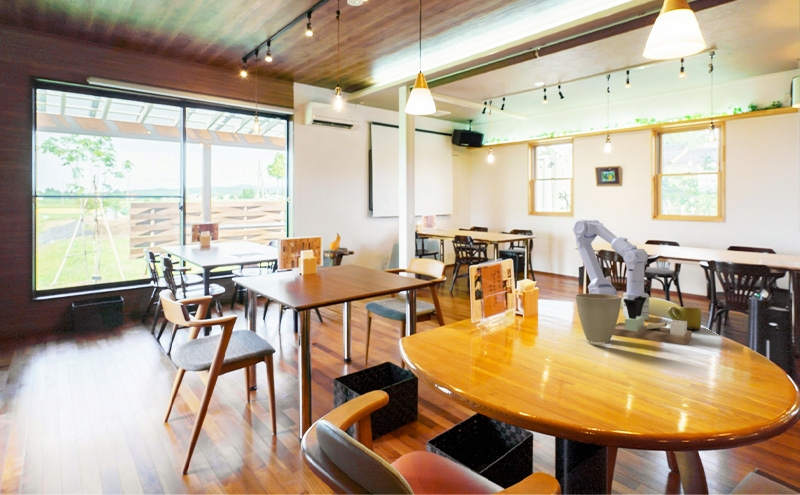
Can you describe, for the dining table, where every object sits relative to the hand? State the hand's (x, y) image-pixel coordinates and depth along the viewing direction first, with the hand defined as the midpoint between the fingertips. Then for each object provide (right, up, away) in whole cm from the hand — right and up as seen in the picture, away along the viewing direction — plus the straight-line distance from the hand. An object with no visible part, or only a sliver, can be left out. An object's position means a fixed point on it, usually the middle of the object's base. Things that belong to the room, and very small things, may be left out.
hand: (634, 317), depth 162 cm
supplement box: (+13, -6, +23) cm, 27 cm away
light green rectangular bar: (0, -4, 0) cm, 4 cm away
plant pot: (-18, -7, -10) cm, 22 cm away
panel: (+4, -7, -2) cm, 8 cm away
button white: (+11, -4, -9) cm, 15 cm away
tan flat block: (+6, -3, -4) cm, 7 cm away
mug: (+23, -7, +7) cm, 25 cm away
